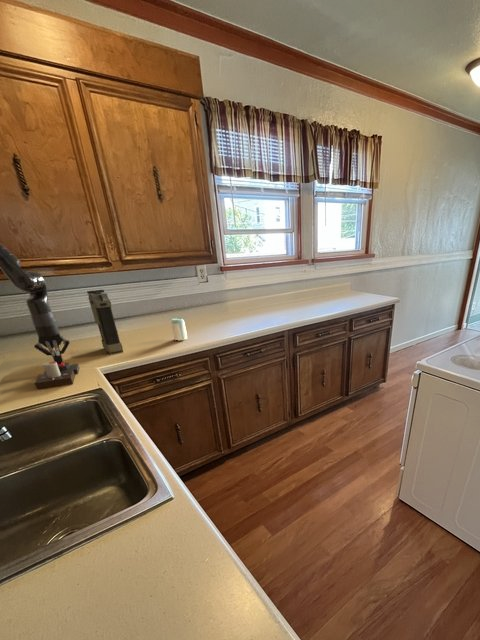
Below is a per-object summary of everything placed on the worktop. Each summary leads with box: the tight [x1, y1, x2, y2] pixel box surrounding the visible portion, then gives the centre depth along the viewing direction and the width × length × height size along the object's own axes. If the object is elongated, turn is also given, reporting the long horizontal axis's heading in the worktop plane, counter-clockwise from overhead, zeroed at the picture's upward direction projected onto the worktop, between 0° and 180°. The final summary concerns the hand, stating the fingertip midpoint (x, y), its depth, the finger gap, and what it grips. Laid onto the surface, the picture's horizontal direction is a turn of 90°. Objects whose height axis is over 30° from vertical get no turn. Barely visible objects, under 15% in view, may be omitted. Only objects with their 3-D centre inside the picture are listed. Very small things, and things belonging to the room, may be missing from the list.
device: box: [86, 289, 124, 355], centre depth 165 cm, size 14×8×30 cm, turn 42°
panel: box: [34, 370, 76, 391], centre depth 133 cm, size 12×10×3 cm
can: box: [171, 317, 188, 342], centre depth 186 cm, size 7×7×12 cm
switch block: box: [43, 361, 80, 375], centre depth 142 cm, size 12×8×4 cm, turn 118°
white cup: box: [42, 360, 61, 378], centre depth 131 cm, size 4×4×6 cm
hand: (59, 363), depth 141 cm, fingers closed
